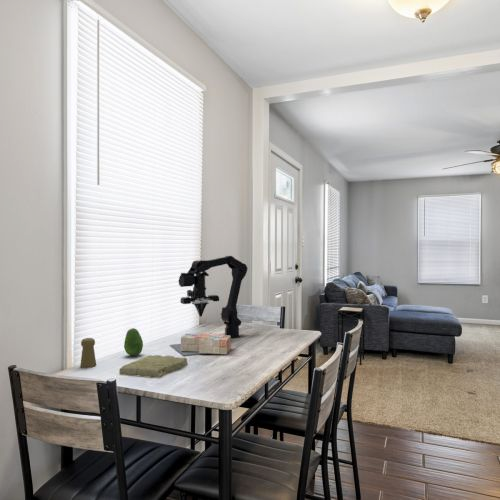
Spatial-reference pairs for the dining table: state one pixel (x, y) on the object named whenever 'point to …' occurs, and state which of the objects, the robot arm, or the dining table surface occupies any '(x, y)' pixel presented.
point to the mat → (184, 353)
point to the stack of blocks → (206, 343)
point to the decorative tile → (153, 366)
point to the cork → (88, 353)
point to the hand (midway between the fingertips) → (200, 316)
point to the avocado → (133, 342)
